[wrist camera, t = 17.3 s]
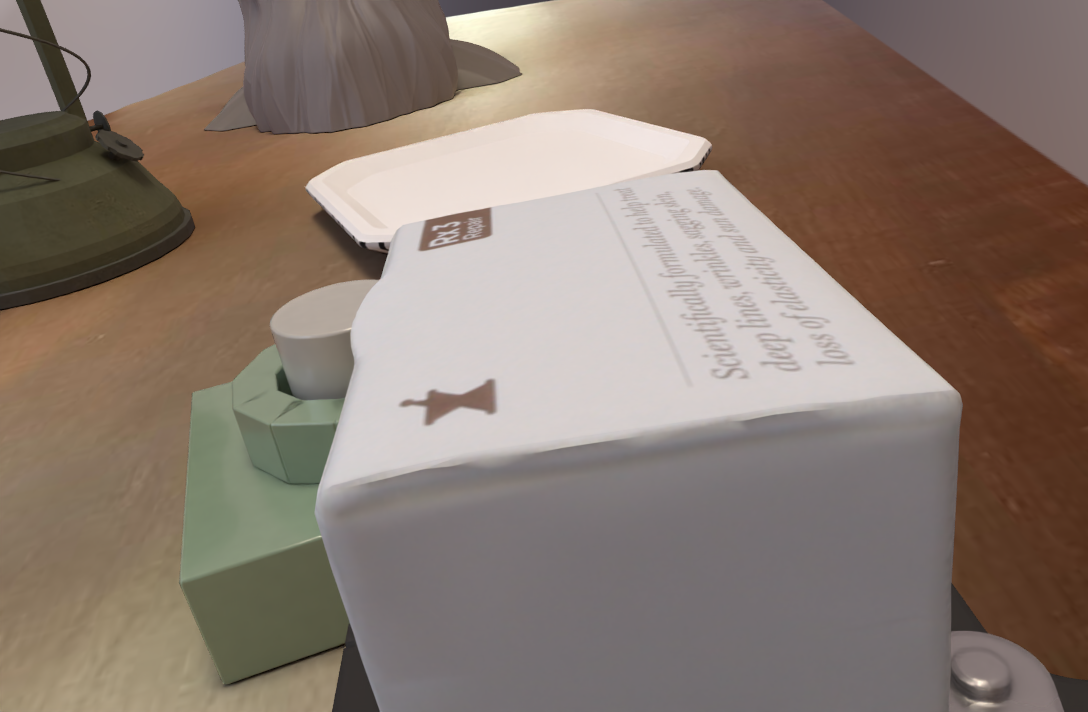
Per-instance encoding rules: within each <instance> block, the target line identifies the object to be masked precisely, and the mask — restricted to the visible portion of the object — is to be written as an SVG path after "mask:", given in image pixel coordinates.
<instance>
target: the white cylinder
mask: <svg viewBox="0 0 1088 712" xmlns="http://www.w3.org/2000/svg"><path fill="white" fill-rule="evenodd" d="M378 281H379V280H356V281H348V282H343V283H338V284H333V285H329V286H326V287H322V288H319V289H316V290H313V291H311V292H308V293H306V294H303V295H301V296H299V297H297V298H295V299H293V300H291V301H290V302H288V303H286V304H285V305H283V306H282V307H281V308H280V309H278V310H277V311H276V312H275V313H274V315H273V316H272V318H271V320H270V329H271V332H272V336H273V339H274V342H275V345H276V348H277V351H278V354H279V357H280V360H281V363H282V367H283V370H284V373H285V376H286V379H287V382H288V385H289V388H290V391H291V393H292V395H293V396H294V397H296V398H298V399H301V400H321V399H342V398H345V397H346V394H347V390H348V386H349V383H350V379H351V376H352V372H353V369H354V364H355V363H354V356H353V353H352V348H351V336H350V333H351V328H352V323H353V320H354V319H355V317H356V312H357V311H358V309H359V307H360V305H361V303H362V301H363V300H364V298H365V296H366V295H367V293H368V292H369V291H370V290H371V288H372V287H373V286H374V285H375V284H376V283H377V282H378Z"/></svg>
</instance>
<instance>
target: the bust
mask: <svg viewBox="0 0 1088 712" xmlns="http://www.w3.org/2000/svg"><path fill="white" fill-rule="evenodd" d="M238 1H239V4H240V8H241V11H242V14H243V18H244V27H245V66H246V68H245V73H244V83H243V87H242V88H241V89H239V90H238V91H237V92H236V93H235V94H234V95H233V97H232V98H231V99H230V100H229V101H228V103H227V104H226V105H225V106H224V108H223V109H222V111H221V112H220V114H219V115H218V116H217V117H216V118H215V119H214V120H213V121H212V122H211V123H210V124H209V125H208V126H207V127H206V128H205V129H204V130H216V131H224V130H230V129H235V128H241V127H247V126H252V125H257V126H258V128H259V130H260V132H266V131H272V133H273V134H280V133H299V132H308V133H316V132H334V131H338V130H343V129H349V128H354V127H362V126H367V125H370V124H374V123H377V122H381V121H385V120H389V119H392V118H394V117H396V116H399V115H402V114H407V113H410V112H413V111H415V110H419V109H423V108H428V107H432V106H434V105H436V104H437V103H439V102H443V101H446V100H450V99H452V98H453V97H454V94H455V91H456V90H458V89H464V88H470V87H475V86H481V85H487V84H493V83H499V82H502V81H505V80H507V79H510V78H513V77H515V76H519V75H521V74H522V73H520V71H519V68H518V67H517V66H516V65H514V64H513V63H511V62H510V61H509V60H507V59H505V58H504V57H502V56H501V55H499V54H497V53H495V52H493V51H492V50H489V49H487V48H485V47H482V46H479V45H476V44H472V43H468V42H464V41H458V40H452V39H450V38H449V31H448V26H447V22H446V18H445V15H444V13H443V11H442V9H441V7H440V4H439V2H438V0H238Z"/></svg>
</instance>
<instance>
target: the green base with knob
mask: <svg viewBox="0 0 1088 712" xmlns="http://www.w3.org/2000/svg"><path fill="white" fill-rule="evenodd" d="M344 401H345V398H342V399H321V400H301V399H298V398H296V397H294V396H293V395H292V393H291V391H290V388H289V385H288V382H287V379H286V376H285V373H284V370H283V367H282V363H281V360H280V357H279V354H278V351H277V348H276V345H275V344H274V345H272V346H270V347H268V348H266V349H264V350H263V351H262V352H261V353H260V354H259V355H258V356H257V357H256V358H255V359H254V360H253V361H252V362H251V363H250V364H248V365H247V366H246V367H245V368H244V369H243V370H242V371H241V372H240V373H239V374H238V375H237V376H236V377H235V378H234V380H233V381H232V382H229V383H226V384H222V385H218V386H215V387H211V388H207V389H204V390H200V391H196V392H194V393H192V403H191V418H190V432H189V447H188V462H187V476H186V491H185V505H184V520H183V535H182V549H181V564H180V578H179V584H180V587H181V589H182V591H183V593H184V596H185V598H186V600H187V603H188V605H189V607H190V609H191V612H192V614H193V616H194V619H195V621H196V623H197V626H198V628H199V630H200V632H201V635H202V637H203V639H204V642H205V644H206V646H207V648H208V651H209V653H210V655H211V658H212V660H213V662H214V665H215V667H216V669H217V671H218V674H219V676H220V678H221V681H222V682H223V684H230V683H232V682H235V681H238V680H241V679H244V678H247V677H250V676H253V675H255V674H258V673H261V672H264V671H267V670H270V669H273V668H275V667H278V666H281V665H284V664H287V663H290V662H293V661H296V660H298V659H301V658H304V657H307V656H310V655H313V654H316V653H319V652H321V651H324V650H327V649H330V648H333V647H336V646H339V645H341V644H344V643H345V640H346V635H347V629H348V624H350V622H349V619H348V616H347V613H346V610H345V607H344V604H343V601H342V598H341V595H340V592H339V589H338V586H337V583H336V581H335V578H334V575H333V572H332V569H331V566H330V562H329V559H328V556H327V552H326V549H325V546H324V542H323V539H322V536H321V533H320V529H319V526H318V523H317V519H316V516H315V513H314V512H315V506H316V499H317V492H318V487H319V484H320V481H321V478H322V475H323V471H324V468H325V465H326V462H327V459H328V455H329V452H330V449H331V446H332V443H333V439H334V436H335V433H336V429H337V426H338V422H339V419H340V415H341V412H342V408H343V405H344Z"/></svg>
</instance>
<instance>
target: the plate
mask: <svg viewBox="0 0 1088 712" xmlns="http://www.w3.org/2000/svg"><path fill="white" fill-rule="evenodd" d="M711 150H712V144H711V143H710V142H709V141H707V140H706V139H705V138H703V137H699V136H695V135H691V134H687V133H683V132H679V131H675V130H671V129H668V128H664V127H660V126H656V125H652V124H648V123H644V122H640V121H636V120H633V119H629V118H625V117H621V116H617V115H613V114H609V113H605V112H601V111H597V110H594V109H581V110H569V111H556V112H544V113H535V114H530V115H526V116H522V117H518V118H514V119H510V120H506V121H502V122H498V123H494V124H490V125H486V126H482V127H478V128H474V129H471V130H467V131H463V132H459V133H455V134H451V135H447V136H443V137H439V138H435V139H431V140H427V141H423V142H419V143H415V144H411V145H407V146H403V147H399V148H395V149H391V150H387V151H383V152H379V153H375V154H371V155H367V156H364V157H360V158H356V159H352V160H348V161H345V162H342V163H340V164H338V165H336V166H334V167H332V168H331V169H329V170H327V171H325V172H323V173H322V174H320V175H318V176H316V177H314V178H313V179H311V180H310V181H309V183H308V184H307V186H306V187H305V188H306V191H307V192H308V194H309V195H310V196H311V197H312V198H313V199H314V200H315V201H316V202H317V203H318V204H319V205H320V206H321V207H322V208H323V209H324V210H325V211H326V212H327V213H328V214H329V215H330V216H331V217H332V218H333V219H334V220H335V221H336V222H337V223H338V224H339V225H340V226H341V227H342V228H343V229H344V230H345V231H346V232H347V233H348V234H349V235H350V236H351V237H352V238H353V239H354V240H355V242H356V243H357V244H358V245H359V246H360V247H361V248H365V249H369V250H373V251H377V252H381V253H384V254H388V252H389V248H390V243H391V240H392V238H393V236H394V234H395V232H396V230H397V229H399V228H400V227H401V226H402V225H405V224H409V223H414V222H419V221H424V220H429V219H434V218H438V217H443V216H448V215H452V214H457V213H463V212H468V211H474V210H480V209H485V208H489V207H494V206H499V205H506V204H512V203H518V202H524V201H529V200H534V199H540V198H545V197H550V196H555V195H561V194H566V193H571V192H576V191H581V190H586V189H591V188H596V187H600V186H605V185H610V184H615V183H620V182H626V181H632V180H637V179H643V178H649V177H654V176H660V175H666V174H673V173H682V172H691V171H698V170H699V169H700V167H701V166H702V164H703V163H704V161H705V160H706V158H707V157H708V155H709V154H710V152H711Z"/></svg>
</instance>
